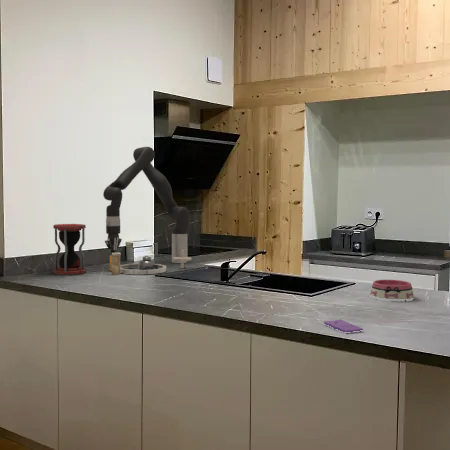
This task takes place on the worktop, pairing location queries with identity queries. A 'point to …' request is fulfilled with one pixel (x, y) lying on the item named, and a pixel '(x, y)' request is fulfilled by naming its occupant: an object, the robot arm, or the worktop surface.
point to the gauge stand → (116, 263)
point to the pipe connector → (182, 259)
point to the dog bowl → (392, 289)
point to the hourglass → (69, 249)
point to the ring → (127, 271)
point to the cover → (146, 263)
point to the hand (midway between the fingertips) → (113, 256)
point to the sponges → (343, 325)
